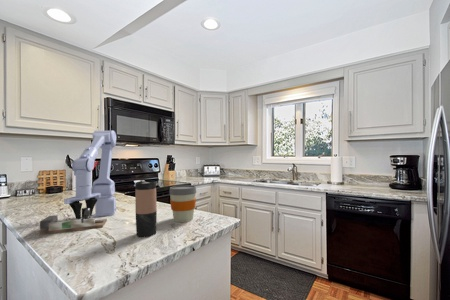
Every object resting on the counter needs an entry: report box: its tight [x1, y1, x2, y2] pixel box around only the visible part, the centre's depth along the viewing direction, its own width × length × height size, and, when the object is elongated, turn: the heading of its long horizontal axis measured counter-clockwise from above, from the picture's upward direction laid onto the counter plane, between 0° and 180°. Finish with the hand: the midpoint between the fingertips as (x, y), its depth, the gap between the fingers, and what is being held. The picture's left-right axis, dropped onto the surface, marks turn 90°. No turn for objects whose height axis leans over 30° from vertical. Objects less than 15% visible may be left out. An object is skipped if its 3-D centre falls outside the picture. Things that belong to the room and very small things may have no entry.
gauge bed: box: [39, 214, 108, 235], centre depth 92 cm, size 22×9×5 cm, turn 109°
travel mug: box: [134, 180, 158, 238], centre depth 83 cm, size 8×8×20 cm
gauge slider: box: [79, 206, 94, 223], centre depth 92 cm, size 4×8×6 cm, turn 19°
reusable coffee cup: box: [168, 184, 197, 223], centre depth 101 cm, size 13×13×15 cm
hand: (83, 217), depth 93 cm, fingers open, 4 cm apart
